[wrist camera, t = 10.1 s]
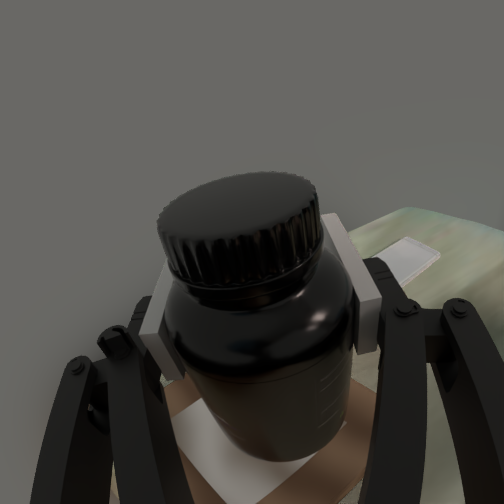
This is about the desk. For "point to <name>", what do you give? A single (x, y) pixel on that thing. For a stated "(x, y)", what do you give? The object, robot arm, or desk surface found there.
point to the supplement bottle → (260, 312)
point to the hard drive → (407, 259)
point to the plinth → (262, 472)
